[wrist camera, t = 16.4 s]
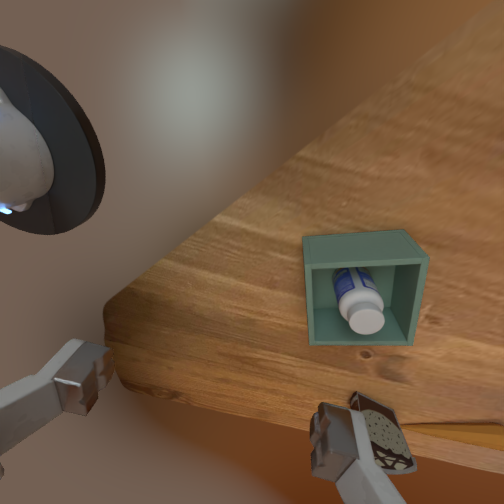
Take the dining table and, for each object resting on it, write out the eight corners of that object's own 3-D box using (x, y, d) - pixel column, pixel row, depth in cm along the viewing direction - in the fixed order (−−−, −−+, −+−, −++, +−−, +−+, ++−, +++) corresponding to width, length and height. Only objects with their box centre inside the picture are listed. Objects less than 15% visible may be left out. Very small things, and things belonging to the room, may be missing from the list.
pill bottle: (333, 293, 41) (344, 341, 33) (330, 264, 39) (340, 307, 30) (370, 289, 40) (391, 338, 32) (369, 259, 38) (391, 302, 29)
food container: (331, 402, 55) (338, 457, 47) (350, 388, 52) (361, 443, 44) (377, 425, 57) (393, 482, 48) (399, 413, 54) (419, 471, 45)
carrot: (503, 418, 52) (518, 436, 47) (504, 439, 52) (519, 459, 48) (390, 408, 58) (394, 423, 54) (391, 427, 58) (396, 444, 54)
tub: (306, 309, 44) (309, 345, 38) (302, 236, 38) (304, 264, 31) (393, 307, 42) (412, 345, 35) (403, 229, 36) (429, 257, 29)
